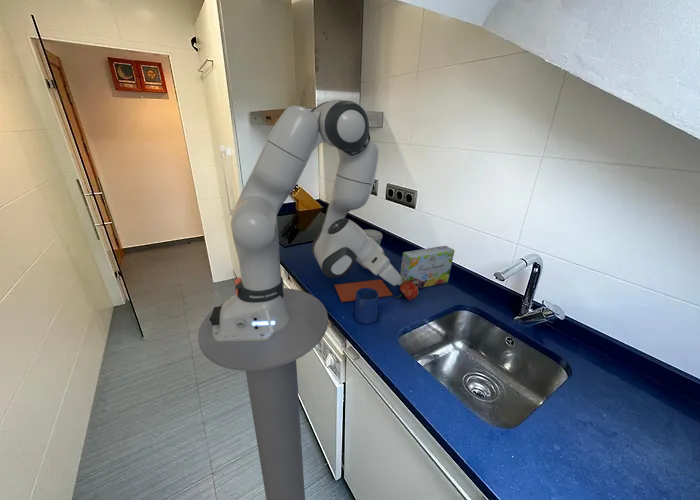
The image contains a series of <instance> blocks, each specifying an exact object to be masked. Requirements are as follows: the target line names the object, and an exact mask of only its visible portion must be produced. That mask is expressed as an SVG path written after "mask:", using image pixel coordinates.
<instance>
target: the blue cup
mask: <svg viewBox="0 0 700 500" xmlns="http://www.w3.org/2000/svg"><path fill="white" fill-rule="evenodd" d="M379 298H380V297H379V293H378V292H377V291H376V290H375V289H372V288H361V289H358V290H357V291H356V299H355V301H354V302H355V303H354V318H355V320H356V321H358V322H359V323H361V324H372V323H374V322H376V321H377V319H378V309H379Z"/></svg>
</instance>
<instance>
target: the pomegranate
mask: <svg viewBox="0 0 700 500" xmlns="http://www.w3.org/2000/svg"><path fill="white" fill-rule="evenodd" d="M419 284H420V283H417V284H414V283H413V282H412V281H404V282H403V283H402V284H401V285H400V286H399V291H400V292H401V294H400V295H398V296H396V299H398V298H400V297H401V296H404V298H406V299H407V301H413V300H415V299H416V298H417V297H418V295H419V289H418V288H417V286H418V285H419Z"/></svg>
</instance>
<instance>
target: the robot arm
mask: <svg viewBox="0 0 700 500" xmlns="http://www.w3.org/2000/svg"><path fill="white" fill-rule="evenodd" d="M322 143H326V144H327V145H329V146H330V147H332V148H333V147H334V148H336V150H337V153H338V164H337V168H336V172H335V175H334V176H335V177H334V180H333V185H332V190H331V195H330V198H329V199H330V200H329V203H328V206H327V209H326V212H325V215H324V219H323V223H322V226H321V229H320V231H319V233H318V234H317V236H316V237H315V239H314V240H313V242H312V244H311V254H312V255H313V257H314V258H315V260H316V261H317V264H318V266H319V267H320V269H321V271H322V273H323V275H325V276H326V277H328V278H329V279H338V278H339V279H340V278H342V277H344V276H345V275H346V274H347V273H348V272H349V271H350V269H351V268H352V267H353V266H354V265H355V263H356V262H357V263H358V264H359V265H360V266H361V267H362V268H364V269H366V270H368V271H370V272H371V274H373V275H375V276H379V277H380V278H382V280H383V281H385V282H387V283H389V284H390V285H392V286H394V287H396V286H397V285H398V286H399V285H400V284H401V283H402V281H401V280H402V277H401V275H400V273H399V271H398V270H397V269H396V268H395V267H394V265H393V264H392V263H391V260H390V259H389V257H388V256H387V255H386V253H385V251H384V250H383V248H382V246H381V245H380V246H379V245H378V244H377V243H376V242H375V241H374V240H373V239H372V238H370V237H368V236H367V235H366V233H365V231H364V230H365V229H363V228H362V227H361V226H359V225H358V224H357V223H356V222H354V221H353V220H351V219H348V218H346V217H347V214H348V213H349V212H350V211H354V210H358V209H361V208H362V207H364V206H365V205H366V204H367V202H368V201H369V199H370V196H371V194H372V190H373V187H374V184H375V180H376V176H377V170H378V163H379V155H380V151H379V150H380V149H379V147H378V145H377V144H376V142H374V141H373V140H371V134H370V123H369V118H368V115H367V113H366V111H365V109H363V107H362V106H360V104H358V103H357V102H354V101H352V100H343V99H331V100H328V101H324V102H322V103H320V104H318V105H317V106H315V107H314V108H313V109H308V108H306V107H304V106H301V105H290V106H288V107H287V108H285V110H284V111H283V112H282V114H281V115H280V116H279V118H278V119H277V120H276V122H275V124H274V126H273V128H272V129H271V131H270V133H269V135H268V137H267V138H266V141H265V143H264V145H263V147H262V149H261V152H260V153H259V156H258V158H257V159H256V162H255V164H254V167H253V169H252V171H251V173H250V175H249V176H248V178H247V181H246V182H245V185H244V187H243V188H242V191H241V193H240V195H239V197H238V199H237V201H236V203H235V206H234V210H233V213H232V215H231V219H230V228H231V233H232V238H233V242H234V248H235V250H236V255H237V259H238V264H239V271H240V277H237V278H236V279H235V280H234V285H235V289H234V290H235V294H233V295H232V296H231V297H229V298H228V299H227V300H225V301H223V303H224V304H223V306H220V307H218V306H214V307H213V308H212V310H213V312H212V315H211V317H210V319H209V320H210V322H211V323H212V325H213V328H212V333H213V338H214V339H215V340H216V341H217V342H225V341H258V340H269V339H270V338H271V337H272V336H273V335H274V334H275V333H276V332H278V331H280V330H281V329H283V328H284V327H285V326H286V325H287V324H288V322H289V319H290V316H289V313H288V311H287V308H286V305H285V301H284V288H285V284H284V280H283V277H282V270H281V258H280V243H279V241H280V240H279V224H278V218H277V217H278V213H279V212H280V210H281V208H282V207H283V206H284V204H285V201H287V199H288V198H289V196H290V194H292V193H293V191H294V190H295V188H296V186H297V184H298V182H299V180H300V178H301V177H302V175H303V172H304V170H305V168H306V167H307V164H308V162H309V160H310V159H311V156H312V154H313V152H314V151H315V149H316V148H317V147H318V146H319V145H321V144H322Z"/></svg>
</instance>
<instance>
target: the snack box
mask: <svg viewBox="0 0 700 500" xmlns="http://www.w3.org/2000/svg"><path fill="white" fill-rule="evenodd" d="M455 252H456V250H455V249H453V248H451V247H450V246H448V245H439V246H433V247H428V248H422V249H415V250H410V251H404V252H402V257H401V265H400V271H399V272H400V273H399V274H400V275H401V277H402V280H401V281H402V283H403V282H404V281H412V282H413V283H414V284H417V283H420V284H419V285H418V286H417V288H418V290H419V289H422V288H428V287H432V286H437V285H440V284H445V283H448V282H449V278H450V274H451V270H452V266H453V260H454V255H455ZM402 283H401V284H402ZM401 284H400V285H401ZM400 285H398V286H399V287H400Z"/></svg>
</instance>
